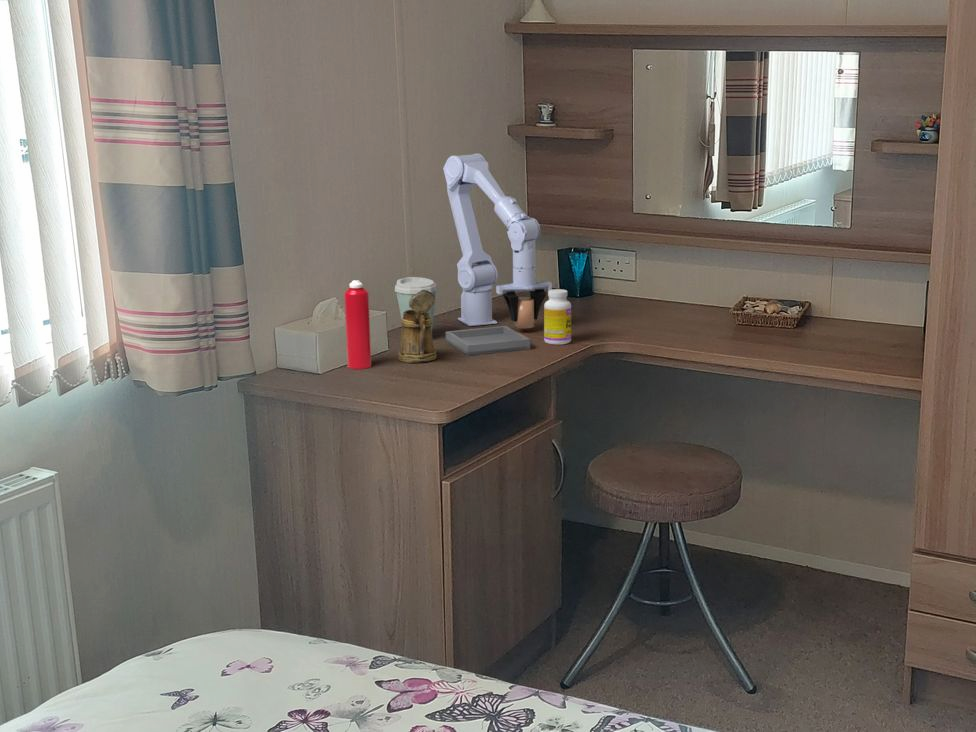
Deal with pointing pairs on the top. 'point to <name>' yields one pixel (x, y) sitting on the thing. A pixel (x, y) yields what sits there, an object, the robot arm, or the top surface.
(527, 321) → the terracotta cup
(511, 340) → the gray tray
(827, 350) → the top surface
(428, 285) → the disposable coffee cup
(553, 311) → the supplement bottle
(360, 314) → the bottle
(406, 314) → the wooden mug
